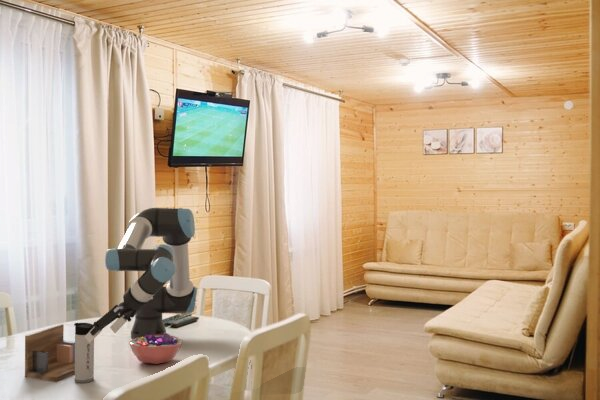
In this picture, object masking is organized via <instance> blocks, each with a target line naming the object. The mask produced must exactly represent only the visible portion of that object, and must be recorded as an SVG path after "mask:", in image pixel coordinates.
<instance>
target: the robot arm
mask: <svg viewBox="0 0 600 400" xmlns="http://www.w3.org/2000/svg"><path fill="white" fill-rule="evenodd" d="M126 227H127V228H126V232H125V235H123V238H122V239H121V242H120V243H119V245H118V247H117V248H109V249H107V250H106V253H105V256H104V257H105V259H104V261H105V262H104V263H105V268H106V270H108V271H114V272H143V273H142V274H141V276H140V277H138V279H136V280H135V282H133V284H132V285H131V286H130V287H129V288H128V289H127V290H126V291H125V292H124V294H123V295H122V298H123V301H122V302H120V303H119V304H116V305H114V306H113V307H112V308H111V309H110V310H109V311H107V312H106V313H105V314H104V315H103V316H101V317H100V318H99V319H97V320H95V321H94V322H93V326H94V327H93V328H92V329H91V330H90V331H89V332H88V333H87V335H86V336H85V338H86V339H87V341H88V342H89V343H90V342H92V341H93V340H94V341H95V339H96V337H98V336H99V335H100V333H101V332H102V331H103V330H104V328H106V327H107V326H109V325H110V324H111V323H112V322H113V324H112V325H110V326H109V329H111V331H112V332H113V333H114V334H116V333H117V332H118V331H119V330H120V329H121V328H122V327H123V326H124V325H125V324H126V323H127V322H128V323H130V322H131V321H132V319H133V318H134V322H133V325H132V328H131V330H130V338H131V340H133V339H135V338H138V337H145V335H148V336H151V335H152V334H153V335H154V334H155V335H163V334H164V333H167V329H166V327H165V323H164V321H163V320H164V319H163V314H184V315H185V314H191V313H193V312H194V311H195V307H196V301H197V293H198V288H197V286H194V284H193V283H194V282H192V281H191V279H190V266H189V265H190V262H189V260H190V259H189V243H190V242H191V239H192V238H193V237H195V233H196V232H195V231H196V228H195V227H196V226H195V218H194V214H193V211H192V210H191V209H190V208H183V207H178V208H175V207H174V208H171V207H170V208H169V207H168V208H167V207H149V208H147V209H144V210H142V211H139V212H138V213H135V215H133V216H132V217H131V218H130V220H129V221H128V223H127V226H126ZM150 237H151V238H152V237H155V238H157V237H158V238H159V237H161V238H162V242H163V243H164V244H163V243H162V244H161V243H160V244H158V245H156V246H154V247H153V249H150V248H149V249H148V248H147V249H146V248H143V246H144V243H145V241H146V239H148V238H150ZM142 248H143V249H142ZM165 284H167V285H165ZM115 320H116V321H115Z"/></svg>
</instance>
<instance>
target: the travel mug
mask: <svg viewBox="0 0 600 400" xmlns="http://www.w3.org/2000/svg"><path fill="white" fill-rule="evenodd" d="M93 324H94V323H93ZM93 324H92V323H89V322H75V323H74V324H73V326H74V327H75V329H74V331H75V332H74V342H75V374H74V382H75V383H77V384H88V383H91V382H93V381H94V379H95V378H94V376H95V375H94V371H95V368H94V367H95V366H94V365H95V363H94V361H95V339H94V340H93V341H92V342H90V343H89V342H88V341H87V339H86V338H85V336H86V335H87V333H88V332H89V331H90V330H91V329H92V328H93V327H94V326H93Z"/></svg>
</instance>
